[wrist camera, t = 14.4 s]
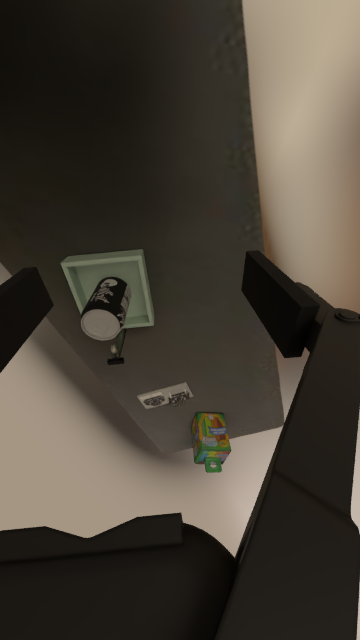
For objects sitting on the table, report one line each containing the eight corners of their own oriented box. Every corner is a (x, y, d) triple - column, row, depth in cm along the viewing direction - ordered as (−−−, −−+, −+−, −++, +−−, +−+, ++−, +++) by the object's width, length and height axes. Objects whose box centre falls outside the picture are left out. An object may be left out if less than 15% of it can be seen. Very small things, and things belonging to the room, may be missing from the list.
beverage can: (90, 288, 42) (68, 323, 32) (114, 268, 40) (98, 299, 30) (115, 310, 45) (102, 349, 35) (138, 292, 43) (131, 328, 34)
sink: (67, 256, 39) (60, 263, 36) (142, 248, 39) (141, 255, 36) (92, 321, 47) (87, 332, 44) (154, 315, 47) (153, 325, 45)
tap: (115, 313, 46) (102, 350, 37) (128, 312, 47) (119, 349, 37) (119, 327, 49) (108, 366, 39) (131, 326, 49) (124, 364, 39)
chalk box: (223, 412, 70) (236, 463, 58) (215, 428, 75) (226, 477, 63) (195, 411, 69) (202, 463, 57) (190, 427, 74) (195, 477, 62)
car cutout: (186, 381, 61) (187, 395, 57) (192, 395, 64) (194, 408, 61) (137, 395, 63) (135, 409, 59) (146, 407, 66) (145, 421, 63)
